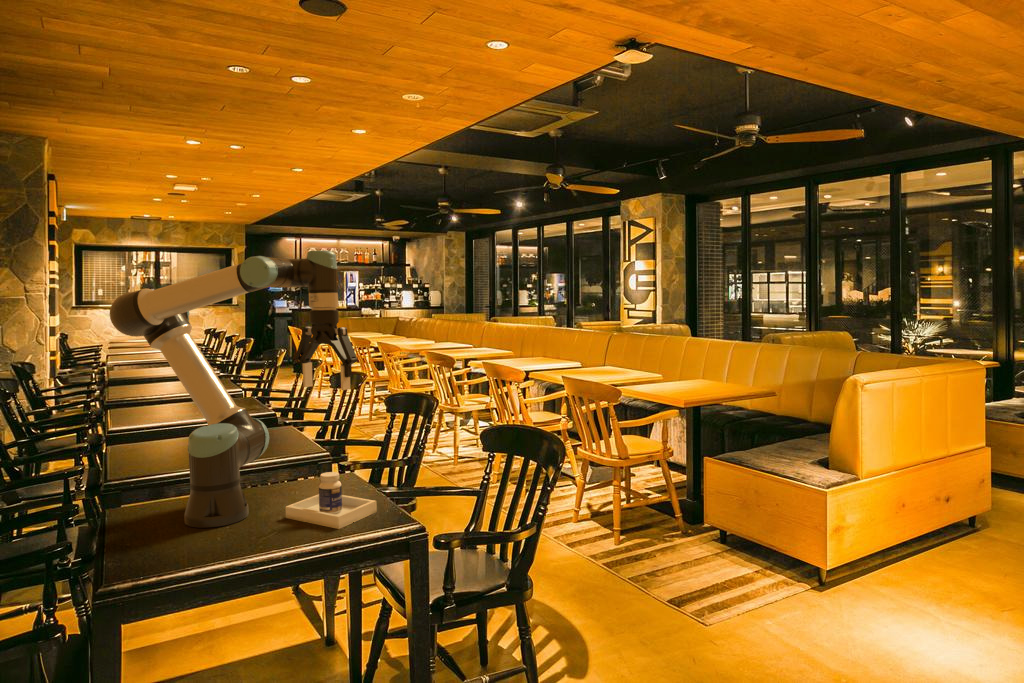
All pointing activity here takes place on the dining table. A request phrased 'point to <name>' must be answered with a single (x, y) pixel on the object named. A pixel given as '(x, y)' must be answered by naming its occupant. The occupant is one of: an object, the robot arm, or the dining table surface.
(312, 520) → the serving tray
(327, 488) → the pill bottle
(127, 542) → the dining table surface
